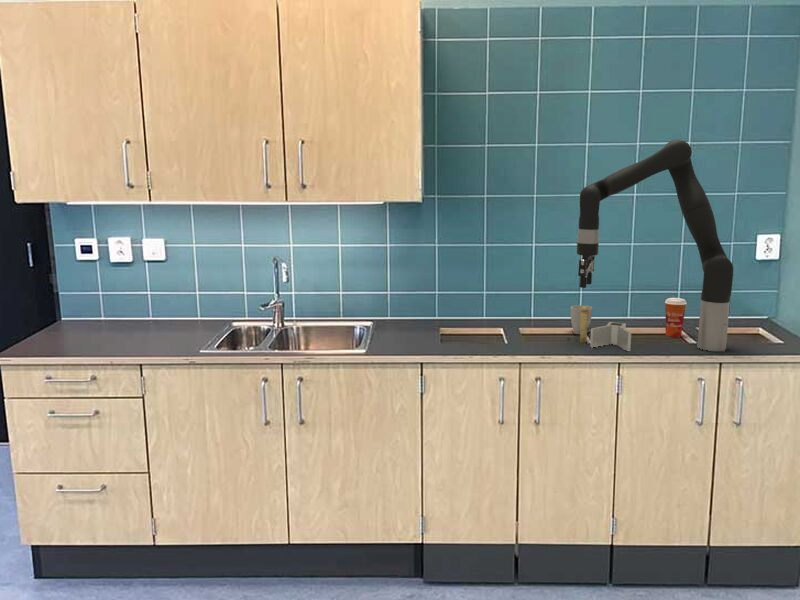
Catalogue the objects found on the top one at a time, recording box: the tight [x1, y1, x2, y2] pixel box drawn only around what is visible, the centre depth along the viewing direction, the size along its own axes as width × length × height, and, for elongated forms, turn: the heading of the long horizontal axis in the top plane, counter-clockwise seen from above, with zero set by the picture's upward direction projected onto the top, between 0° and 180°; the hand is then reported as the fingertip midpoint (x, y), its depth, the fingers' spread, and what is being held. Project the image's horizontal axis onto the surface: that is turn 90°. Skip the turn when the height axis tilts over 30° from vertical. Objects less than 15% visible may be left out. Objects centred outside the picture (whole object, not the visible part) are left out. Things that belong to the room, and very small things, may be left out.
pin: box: [579, 305, 589, 343], centre depth 264 cm, size 3×3×13 cm
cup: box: [570, 304, 593, 335], centre depth 278 cm, size 8×8×10 cm
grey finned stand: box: [589, 321, 632, 352], centre depth 258 cm, size 14×14×7 cm
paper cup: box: [664, 297, 688, 338], centre depth 272 cm, size 8×8×14 cm
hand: (585, 285), depth 263 cm, fingers open, 8 cm apart
